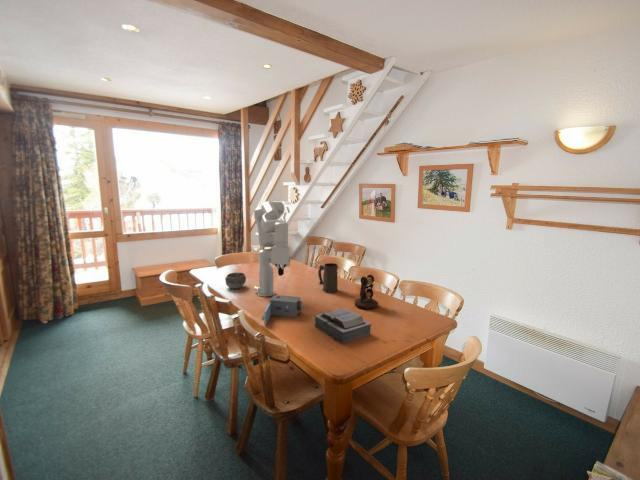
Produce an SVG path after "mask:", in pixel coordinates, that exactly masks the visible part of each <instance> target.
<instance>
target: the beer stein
mask: <svg viewBox="0 0 640 480" xmlns="http://www.w3.org/2000/svg"><path fill="white" fill-rule="evenodd" d="M338 268H339V266H338V264H337V263H332V262H328V263H325V264H324V266H323V265H322V264H321V265H319V269H318V273H317V275H318V276H317V277H318V279H319V283H318V284H319V285H320V286H321V285H322V287H323V288H322V291H323V292H324V293H328V294H334V293H338V282H339V281H338V273H339V272H338ZM322 270H323V274H322ZM322 275H323V276H322Z"/></svg>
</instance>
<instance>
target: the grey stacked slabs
mask: <svg viewBox="0 0 640 480" xmlns="http://www.w3.org/2000/svg"><path fill="white" fill-rule="evenodd" d="M314 328H317V329H319V330H320V331H321V332H323V333H324V334H325V335H327V336H329V337H331V338H332V339H334V340H335V341H337V342H338V343H340V344H343V345H345V344H348V343H351V342H354V341H357V340H359V339H362V338H365V337H368V336H370V335H371V329H372V324H371V322H368V321H366V320H364V319H363V316H362V315H361V314H358V313H357V312H355V311H353V312H351V311H350V310H348V309H345V308H343V307H341V308H339V309H335V310H332V311H329V312H323V313H320V314H317V315H314Z"/></svg>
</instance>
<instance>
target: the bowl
mask: <svg viewBox="0 0 640 480" xmlns="http://www.w3.org/2000/svg"><path fill="white" fill-rule="evenodd" d="M224 279H225V285H226V286H227V287H228V288H229V289H234V290H236V289H239V288H242V287H243V286H244V285H245V283H246V281H247V277H246V275H245V273H244V272H237V271H236V272H231V273H228V274H226V276H225V278H224Z"/></svg>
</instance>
